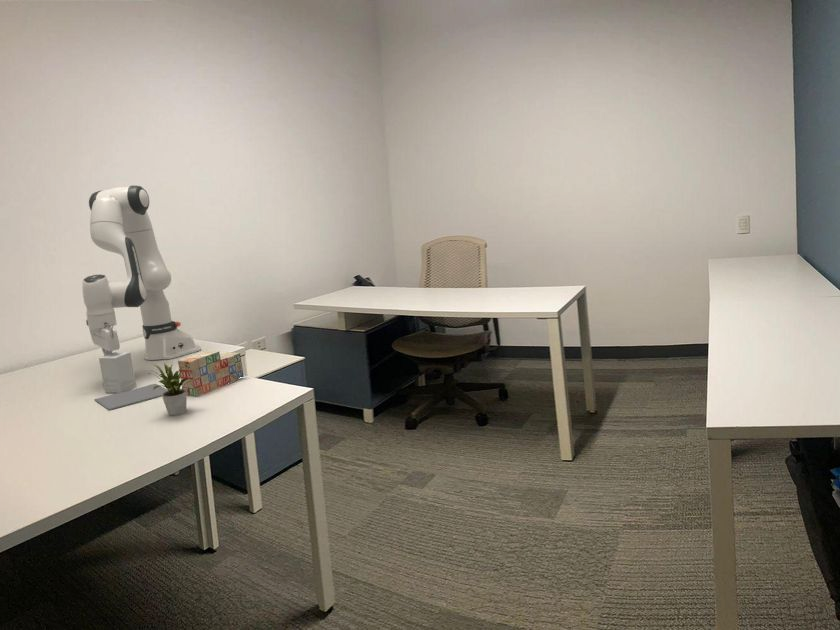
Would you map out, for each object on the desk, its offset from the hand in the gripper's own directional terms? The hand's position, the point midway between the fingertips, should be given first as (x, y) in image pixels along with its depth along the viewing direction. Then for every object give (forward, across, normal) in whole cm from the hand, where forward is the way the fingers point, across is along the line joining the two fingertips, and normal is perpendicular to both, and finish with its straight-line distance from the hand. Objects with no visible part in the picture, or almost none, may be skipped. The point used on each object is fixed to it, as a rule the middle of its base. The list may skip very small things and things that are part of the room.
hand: (108, 359), depth 219 cm
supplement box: (+10, -8, 0) cm, 13 cm away
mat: (+10, -22, 0) cm, 24 cm away
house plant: (+10, -49, -3) cm, 50 cm away
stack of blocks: (+10, -34, -23) cm, 42 cm away
